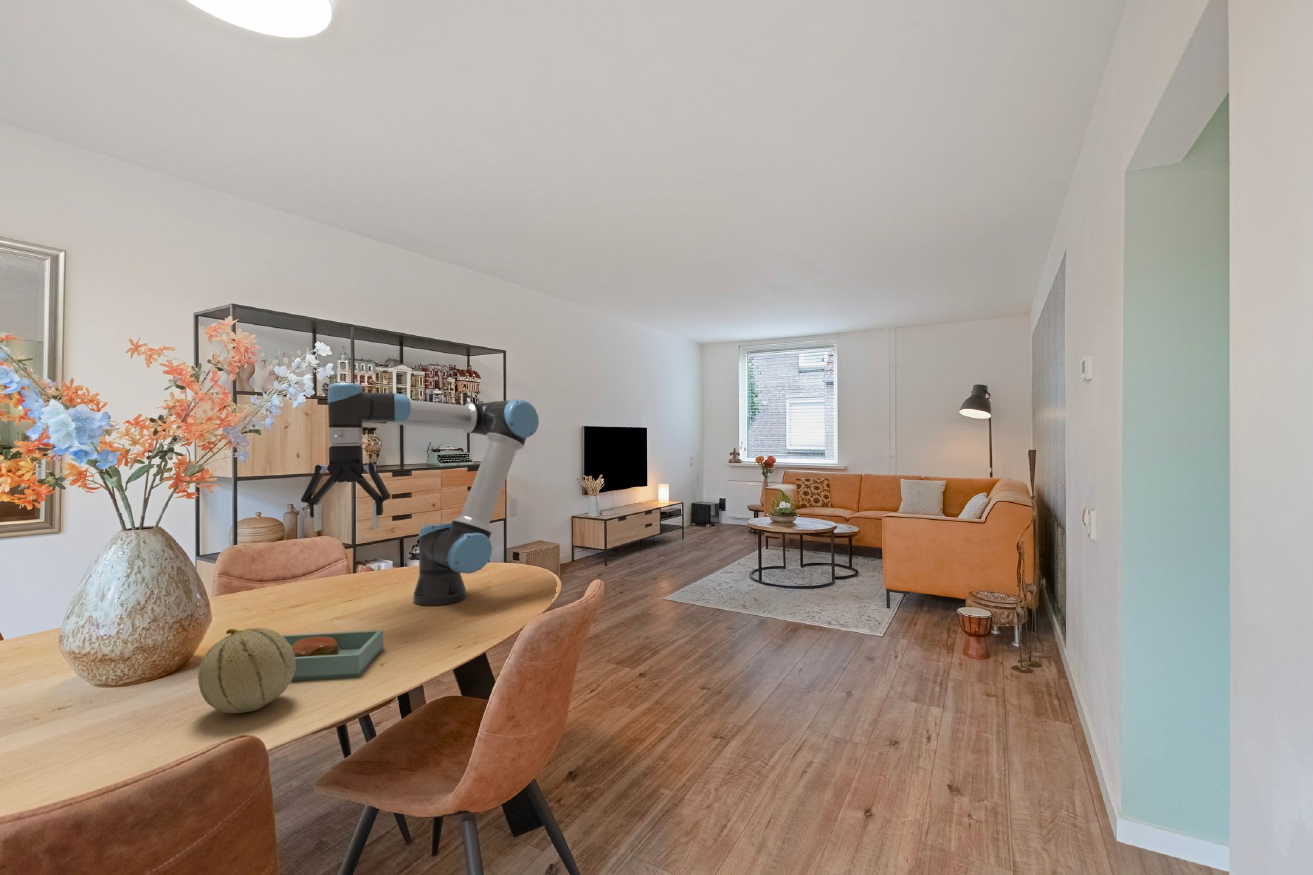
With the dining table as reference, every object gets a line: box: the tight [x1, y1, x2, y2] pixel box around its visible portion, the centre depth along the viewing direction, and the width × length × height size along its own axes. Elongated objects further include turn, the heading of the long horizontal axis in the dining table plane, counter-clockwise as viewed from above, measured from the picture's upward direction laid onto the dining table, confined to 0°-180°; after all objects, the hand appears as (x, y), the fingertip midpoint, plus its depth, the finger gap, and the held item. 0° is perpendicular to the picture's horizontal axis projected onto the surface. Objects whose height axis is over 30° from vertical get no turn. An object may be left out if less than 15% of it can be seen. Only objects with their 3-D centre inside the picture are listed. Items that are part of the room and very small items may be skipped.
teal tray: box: [281, 629, 384, 682], centre depth 128 cm, size 16×24×4 cm, turn 98°
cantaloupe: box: [197, 627, 296, 714], centre depth 108 cm, size 15×15×15 cm
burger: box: [291, 637, 339, 657], centre depth 129 cm, size 10×9×5 cm
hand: (347, 529), depth 148 cm, fingers open, 13 cm apart
